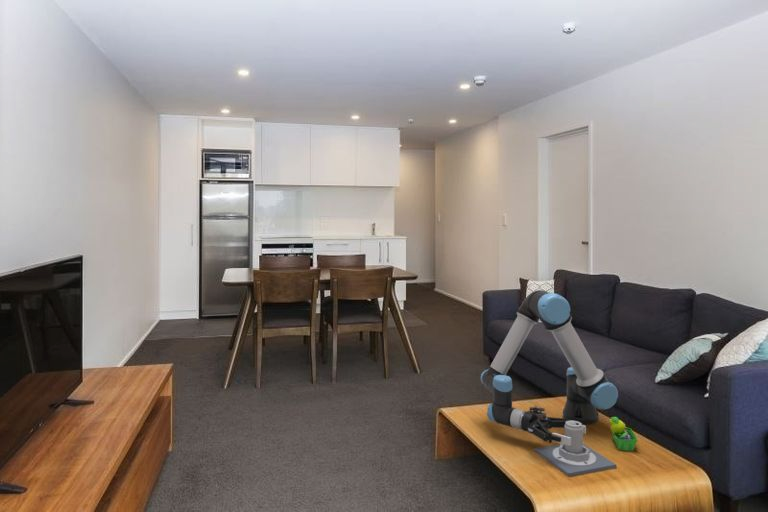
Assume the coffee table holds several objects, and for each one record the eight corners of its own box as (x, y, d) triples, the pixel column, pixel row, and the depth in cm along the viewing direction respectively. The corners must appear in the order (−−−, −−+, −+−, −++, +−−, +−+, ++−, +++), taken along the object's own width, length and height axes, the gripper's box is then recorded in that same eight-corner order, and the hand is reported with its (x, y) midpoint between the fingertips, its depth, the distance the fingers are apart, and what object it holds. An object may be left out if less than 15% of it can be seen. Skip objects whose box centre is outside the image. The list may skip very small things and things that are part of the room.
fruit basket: (638, 453, 183) (638, 423, 182) (612, 450, 185) (612, 422, 184) (630, 440, 194) (630, 412, 193) (606, 438, 196) (606, 411, 195)
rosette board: (579, 444, 191) (579, 434, 191) (616, 467, 172) (616, 456, 171) (534, 451, 185) (534, 441, 185) (568, 476, 166) (568, 465, 166)
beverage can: (584, 459, 175) (584, 427, 174) (565, 458, 176) (566, 426, 175) (581, 451, 181) (581, 420, 180) (562, 450, 182) (563, 419, 182)
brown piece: (526, 430, 205) (526, 407, 204) (526, 427, 208) (526, 404, 208) (546, 433, 202) (546, 409, 201) (546, 430, 205) (546, 406, 204)
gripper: (539, 420, 201) (591, 434, 186) (508, 440, 183) (563, 457, 168) (539, 402, 200) (591, 415, 186) (508, 420, 182) (563, 436, 168)
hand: (578, 435), depth 177 cm, fingers open, 13 cm apart
